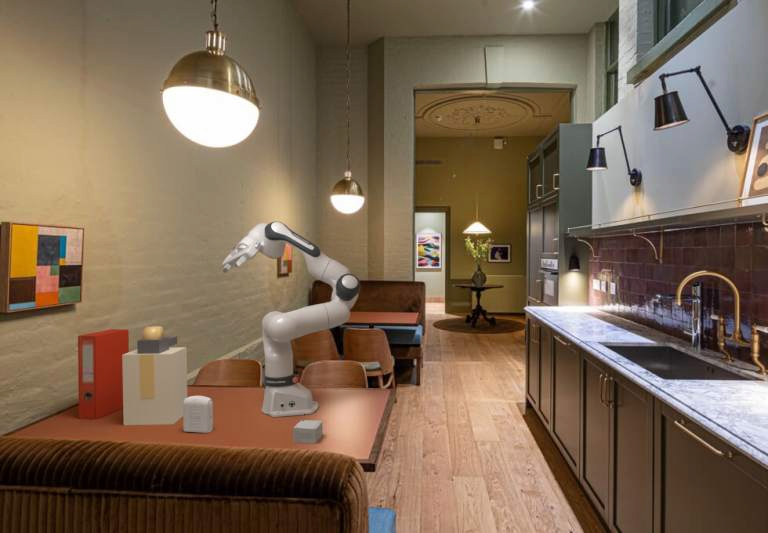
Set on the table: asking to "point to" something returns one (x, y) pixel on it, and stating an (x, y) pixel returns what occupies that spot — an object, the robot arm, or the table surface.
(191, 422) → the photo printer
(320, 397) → the table surface
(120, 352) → the file binder
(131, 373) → the carton
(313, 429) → the small box
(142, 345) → the gold knob on base
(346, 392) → the table surface
